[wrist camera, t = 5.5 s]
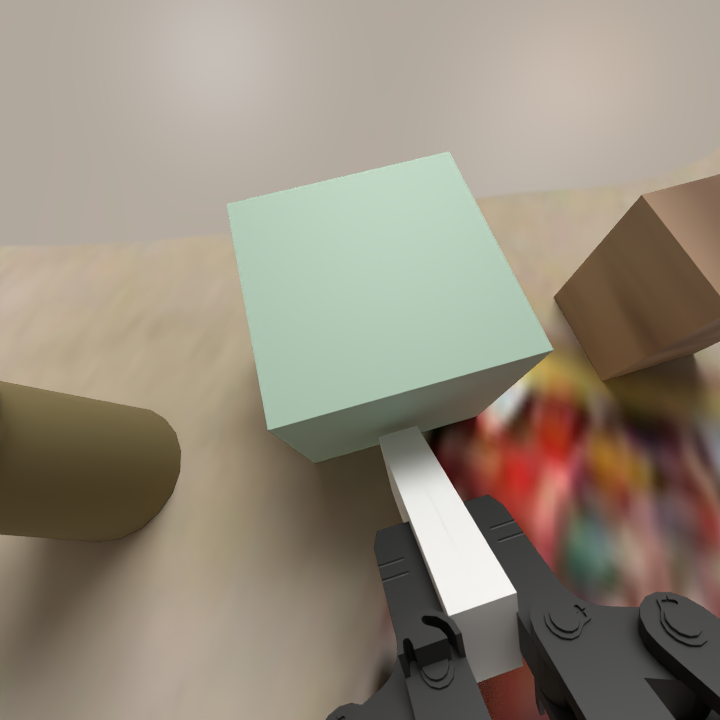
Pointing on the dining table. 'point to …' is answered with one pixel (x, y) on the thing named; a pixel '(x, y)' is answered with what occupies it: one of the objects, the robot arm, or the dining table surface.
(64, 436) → the olive game pawn
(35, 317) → the dining table surface
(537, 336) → the sage-green block
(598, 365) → the walnut block
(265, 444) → the dining table surface
